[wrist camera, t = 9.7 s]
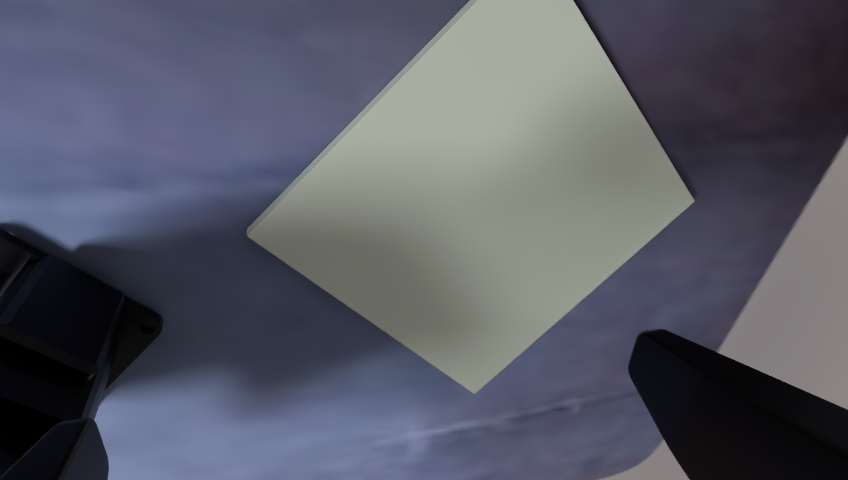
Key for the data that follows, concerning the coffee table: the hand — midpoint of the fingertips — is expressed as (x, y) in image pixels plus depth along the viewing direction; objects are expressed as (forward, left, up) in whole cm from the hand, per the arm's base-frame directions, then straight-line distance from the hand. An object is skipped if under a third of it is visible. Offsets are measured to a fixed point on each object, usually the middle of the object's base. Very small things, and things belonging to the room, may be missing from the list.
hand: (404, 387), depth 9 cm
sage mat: (+3, -7, -12) cm, 14 cm away
